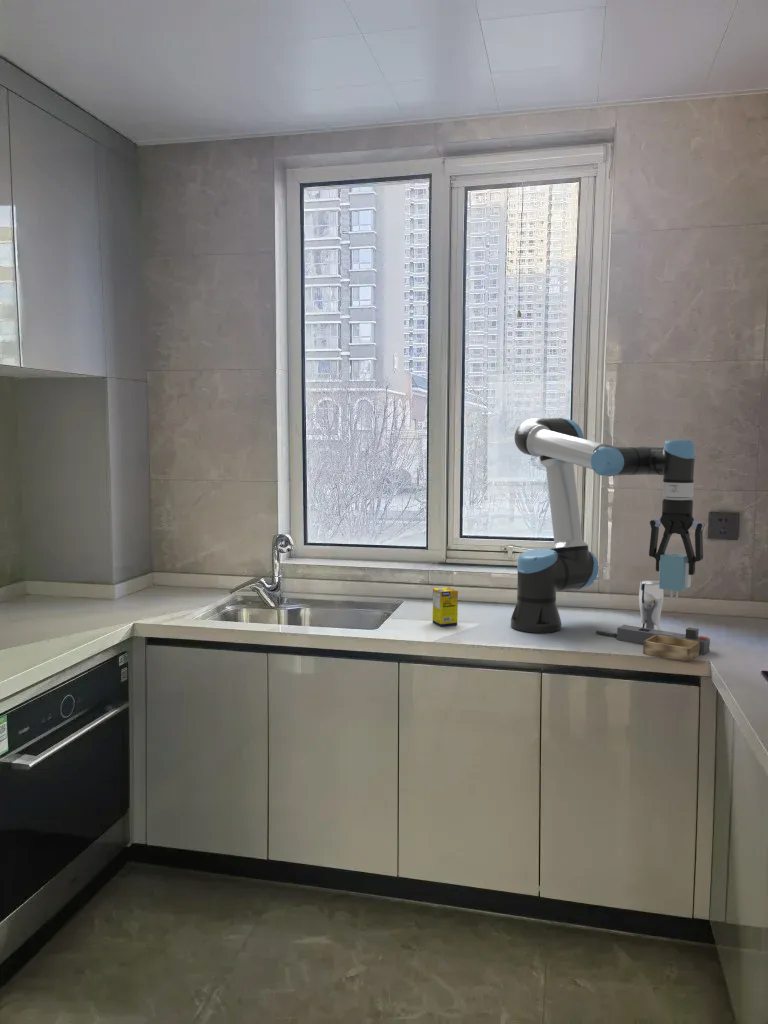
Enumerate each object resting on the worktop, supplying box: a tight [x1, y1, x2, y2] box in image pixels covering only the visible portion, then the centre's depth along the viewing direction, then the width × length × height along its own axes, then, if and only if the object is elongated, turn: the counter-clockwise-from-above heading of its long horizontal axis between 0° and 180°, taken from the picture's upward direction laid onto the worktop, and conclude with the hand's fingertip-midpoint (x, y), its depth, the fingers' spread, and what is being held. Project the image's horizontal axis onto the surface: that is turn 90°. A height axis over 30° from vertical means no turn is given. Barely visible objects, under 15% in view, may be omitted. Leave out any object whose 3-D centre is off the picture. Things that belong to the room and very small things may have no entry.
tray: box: [642, 635, 701, 663], centre depth 205 cm, size 12×9×4 cm
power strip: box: [595, 624, 711, 656], centre depth 216 cm, size 32×5×6 cm, turn 52°
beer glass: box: [638, 579, 664, 630], centre depth 229 cm, size 7×7×15 cm
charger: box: [659, 552, 691, 599], centre depth 203 cm, size 6×6×12 cm
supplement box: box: [432, 587, 459, 627], centre depth 238 cm, size 6×6×11 cm
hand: (674, 585), depth 204 cm, fingers closed on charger, 6 cm apart
